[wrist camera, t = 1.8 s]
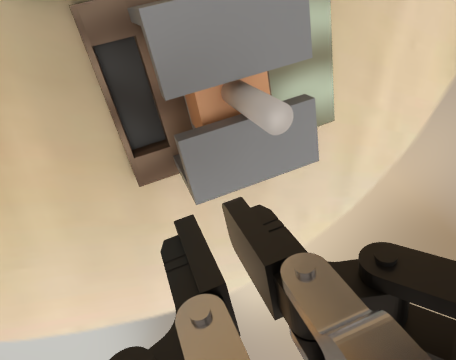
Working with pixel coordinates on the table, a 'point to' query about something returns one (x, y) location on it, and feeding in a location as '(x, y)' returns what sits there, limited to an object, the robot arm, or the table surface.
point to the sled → (240, 104)
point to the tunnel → (227, 72)
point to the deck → (176, 108)
